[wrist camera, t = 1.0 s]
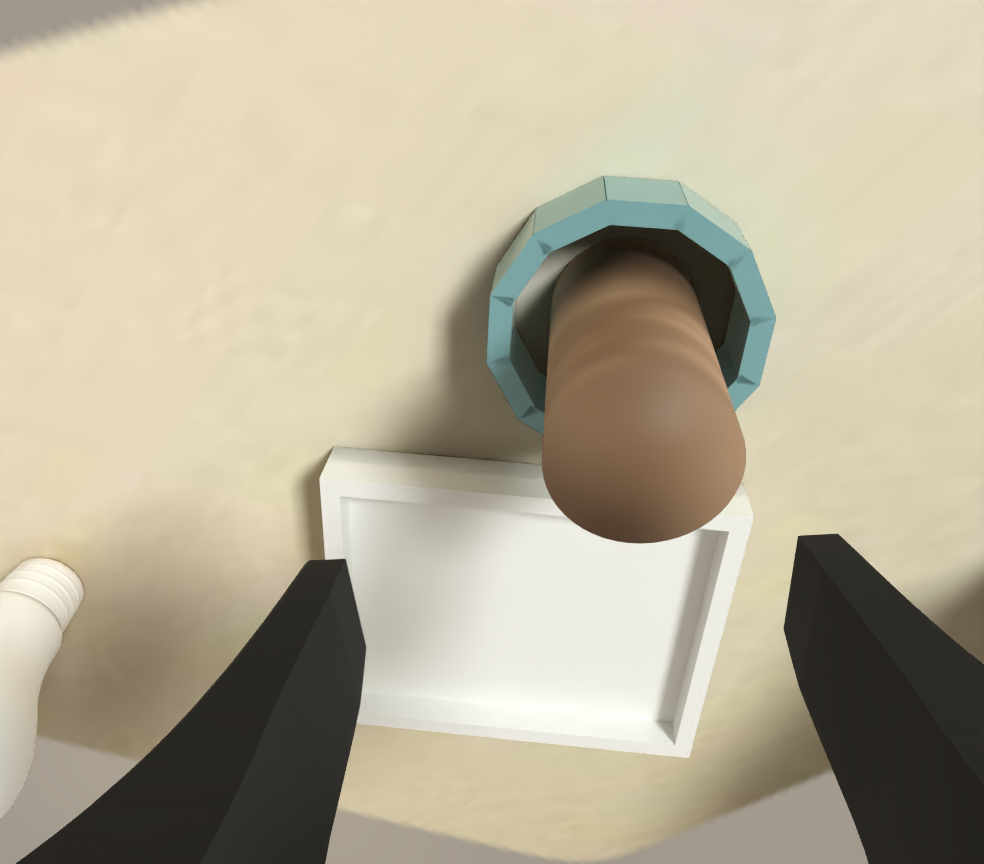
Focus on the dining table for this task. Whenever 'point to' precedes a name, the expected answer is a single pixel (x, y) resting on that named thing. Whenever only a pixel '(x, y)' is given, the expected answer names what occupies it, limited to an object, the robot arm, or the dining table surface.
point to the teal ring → (635, 208)
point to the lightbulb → (28, 658)
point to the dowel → (636, 399)
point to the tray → (524, 606)
